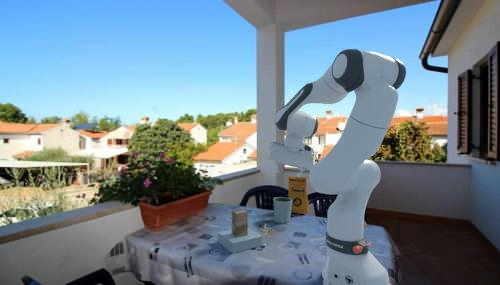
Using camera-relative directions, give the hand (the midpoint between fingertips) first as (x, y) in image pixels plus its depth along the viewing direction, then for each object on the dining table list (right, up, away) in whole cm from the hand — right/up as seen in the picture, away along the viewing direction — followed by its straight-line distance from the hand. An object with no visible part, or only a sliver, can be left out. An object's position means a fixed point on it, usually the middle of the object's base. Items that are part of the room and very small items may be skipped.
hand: (287, 175), depth 116 cm
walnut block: (-21, -25, -4) cm, 33 cm away
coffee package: (+12, -28, +42) cm, 52 cm away
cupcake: (+34, -29, +8) cm, 45 cm away
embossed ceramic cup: (+1, -28, +26) cm, 38 cm away
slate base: (-21, -29, -4) cm, 36 cm away
